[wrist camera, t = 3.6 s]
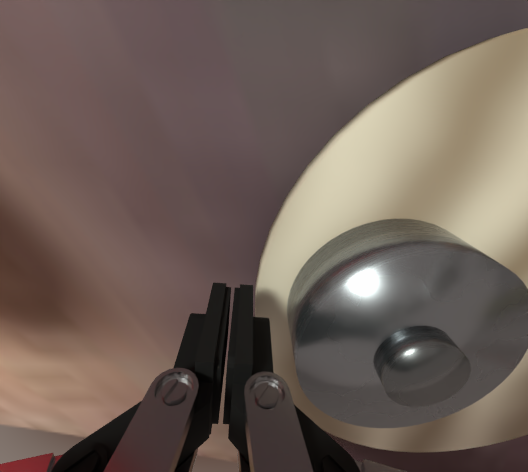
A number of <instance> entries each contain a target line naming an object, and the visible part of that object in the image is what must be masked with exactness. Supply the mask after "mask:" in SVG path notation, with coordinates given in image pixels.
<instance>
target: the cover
mask: <svg viewBox="0 0 528 472" xmlns="http://www.w3.org/2000/svg"><path fill="white" fill-rule="evenodd" d="M287 318H288V325H289V331H290V337H291V343H292V349H293V355H294V361H295V367H296V373H297V377H298V381H299V384H300V386H301V388H302V390H303V392H304V394H305V395H306V396H307V398H308V399H309V400H310V401H311V402H312V403H313V404H314V405H315V406H316V407H317V408H318V409H319V410H321V411H322V412H324V413H325V414H327V415H329V416H331V417H332V418H334V419H337V420H339V421H342V422H345V423H348V424H352V425H356V426H362V427H368V428H399V427H408V426H414V425H419V424H423V423H427V422H431V421H434V420H437V419H440V418H443V417H446V416H449V415H451V414H453V413H456V412H458V411H460V410H462V409H464V408H466V407H468V406H470V405H472V404H473V403H475V402H477V401H478V400H480V399H482V398H483V397H484V396H486V395H487V394H489V393H490V392H491V391H493V390H494V389H495V388H496V387H497V386H498V385H500V384H501V383H502V382H503V381H504V380H505V379H506V378H507V377H508V376H509V375H510V374H511V373H512V372H513V370H514V369H515V368H516V367H517V365H518V364H519V363H520V361H521V360H522V358H523V356H524V355H525V353H526V351H527V349H528V289H527V287H526V285H525V284H524V282H523V281H522V280H521V279H520V278H519V277H518V276H517V275H516V274H515V273H514V272H512V271H511V270H509V269H508V268H506V267H505V266H503V265H502V264H500V263H499V262H497V261H495V260H494V259H492V258H491V257H489V256H487V255H486V254H484V253H483V252H481V251H479V250H478V249H476V248H475V247H473V246H471V245H470V244H468V243H467V242H465V241H463V240H462V239H460V238H458V237H457V236H455V235H454V234H452V233H450V232H449V231H447V230H446V229H443V228H441V227H439V226H437V225H435V224H432V223H428V222H425V221H421V220H414V219H386V220H379V221H375V222H370V223H366V224H363V225H361V226H358V227H355V228H352V229H350V230H348V231H346V232H344V233H342V234H340V235H338V236H337V237H335V238H333V239H332V240H330V241H329V242H327V243H326V244H325V245H323V246H322V247H321V248H320V249H318V250H317V251H316V252H315V253H314V254H313V255H312V256H311V257H310V258H309V259H308V260H307V262H306V263H305V264H304V266H303V267H302V268H301V270H300V271H299V273H298V275H297V276H296V278H295V280H294V282H293V285H292V287H291V289H290V293H289V297H288V303H287Z"/></svg>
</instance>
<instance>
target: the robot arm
mask: <svg viewBox="0 0 528 472" xmlns="http://www.w3.org/2000/svg"><path fill="white" fill-rule="evenodd" d="M230 295H231V287H226V284H225V283H213V286H212V290H211V295H210V299H209V303H208V308H207V312H206V314H195V313H191V314H190V317H189V320H188V323H187V326H186V329H185V333H184V336H183V339H182V342H181V346H180V349H179V352H178V355H177V359H176V362H175V365H174V368H173V369H169V370H167V371H165V372H163V373H161V374H160V375H159V376H157V377H156V378H155V380H154V381H153V382H152V384H151V386H150V387H149V389H148V391H147V393H146V395H145V397H144V398H143V400H142V401H141V402H139V403H138V404H136V405H135V406H133V407H132V408H130V409H129V410H127V411H126V412H124V413H123V414H121V415H120V416H118V417H117V418H115V419H114V420H112V421H111V422H109V423H108V424H106V425H105V426H103V427H102V428H100V429H99V430H97V431H96V432H94V433H93V434H91V435H90V436H88V437H87V438H85V439H84V440H82V441H81V442H79V443H78V444H76V445H75V446H73V447H72V448H71V449H70V450H68V451H67V452H66V453H65V454H63V455H59V456H54V454H53V453H50V454H45V455H40V456H36V457H31V458H26V459H22V460H17V461H13V462H8V463H4V464H0V472H192V469H193V465H194V463H195V459H196V456H197V451H198V447H199V446H200V445H202V444H203V443H204V442H205V441H206V440H207V439H208V438H209V434H211V428H212V424H218V420H219V411H220V402H221V393H222V384H223V375H224V367H225V358H226V349H227V339H228V325H229V310H230ZM223 424H229V434H228V435H229V436H228V439H229V440H230V441H231V442H232V443H233V445H234V446H235V447H236V448H237V449H238V454H237V456H238V468H239V472H407V471H404V470H400V469H397V468H393V467H390V466H387V465H383V464H380V463H376V462H373V461H369V460H366V459H364V460H363V462H360V461H356V460H354V459H353V458H352V457H351V456H350V455H349V454H348V452H347V451H345V450H344V449H343V448H342V447H341V446H340V445H339V444H338V443H337V442H335V441H334V440H333V439H332V438H331V437H330V436H329V435H328V434H326V433H325V432H324V431H323V430H322V429H321V428H320V427H319V426H318V425H316V424H315V423H314V422H313V421H312V420H311V419H310V418H309V417H308V416H306V415H305V414H304V413H303V412H302V411H301V410H300V409H299V408H298V407H296V406H295V405H294V403H293V399H292V396H291V392H290V389H289V387H288V385H287V383H286V382H285V380H284V379H283V378H282V377H280V376H279V375H277V374H275V373H274V371H273V358H272V345H271V332H270V320H269V318H263V317H253V285H240V288H235V293H234V302H233V312H232V322H231V332H230V341H229V351H228V362H227V374H226V389H225V403H224V417H223Z"/></svg>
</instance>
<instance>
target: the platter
mask: <svg viewBox="0 0 528 472" xmlns="http://www.w3.org/2000/svg"><path fill="white" fill-rule="evenodd" d="M386 219H414V220H421V221H425V222H428V223H432V224H435V225H437V226H439V227H441V228H443V229H446V230H447V231H449V232H450V233H452V234H454V235H455V236H457V237H458V238H460V239H462V240H463V241H465V242H467V243H468V244H470V245H471V246H473V247H475V248H476V249H478V250H479V251H481V252H483V253H484V254H486V255H487V256H489V257H491V258H492V259H494V260H495V261H497V262H499V263H500V264H502V265H503V266H505V267H506V268H508V269H509V270H511V271H512V272H514V273H515V274H516V275H517V276H518V277H519V278H520V279H521V280H522V281H523V282H524V284H525V285H526V287H527V289H528V28H526V29H522V30H518V31H514V32H511V33H508V34H504V35H501V36H498V37H494V38H491V39H488V40H485V41H483V42H480V43H478V44H475V45H473V46H470V47H468V48H465V49H463V50H460V51H458V52H456V53H453V54H451V55H448V56H446V57H443V58H442V59H440V60H438V61H436V62H434V63H432V64H431V65H429V66H427V67H425V68H423V69H422V70H420V71H418V72H416V73H414V74H413V75H411V76H409V77H407V78H405V79H404V80H402V81H401V82H399V83H398V84H396V85H395V86H394V87H392V88H391V89H389V90H388V91H387V92H385V93H384V94H382V95H381V96H380V97H378V98H377V99H375V100H374V101H373V102H371V103H370V104H368V105H367V106H366V107H364V108H363V109H362V110H361V111H360V112H359V113H358V114H357V115H356V116H355V117H353V118H352V119H351V120H350V121H349V122H348V123H347V124H346V125H345V126H344V127H343V128H341V129H340V130H339V131H338V132H337V133H336V134H335V135H334V136H333V137H332V138H331V139H330V140H329V141H328V143H327V144H326V145H325V146H324V147H323V148H322V149H321V151H320V152H319V153H318V154H317V155H316V156H315V157H314V159H313V160H312V161H311V162H310V163H309V164H308V166H307V167H306V168H305V170H304V171H303V173H302V174H301V176H300V177H299V179H298V180H297V182H296V183H295V184H294V186H293V187H292V189H291V190H290V192H289V193H288V195H287V196H286V198H285V200H284V202H283V204H282V206H281V208H280V210H279V212H278V214H277V216H276V218H275V220H274V222H273V224H272V226H271V228H270V231H269V234H268V237H267V240H266V243H265V245H264V248H263V251H262V254H261V258H260V263H259V269H258V274H257V279H256V292H255V317H263V318H269V320H270V332H271V345H272V358H273V371H274V373H275V374H277V375H279V376H280V377H282V378H283V379H284V380H285V382H286V383H287V385H288V387H289V389H290V392H291V396H292V399H293V403H294V405H295V406H296V407H298V408H299V409H300V410H301V411H302V412H303V413H304V414H305V415H306V416H308V417H309V418H310V419H311V420H312V421H313V422H314V423H315V424H316V425H318V426H319V427H320V428H321V429H322V430H324V431H326V432H328V433H330V434H332V435H334V436H336V437H339V438H342V439H344V440H347V441H350V442H353V443H356V444H360V445H364V446H368V447H372V448H377V449H384V450H391V451H401V452H444V451H454V450H463V449H469V448H475V447H481V446H487V445H491V444H495V443H499V442H504V441H508V440H512V439H515V438H518V437H521V436H525V435H528V349H527V351H526V353H525V355H524V356H523V358H522V360H521V361H520V363H519V364H518V365H517V367H516V368H515V369H514V370H513V372H512V373H511V374H510V375H509V376H508V377H507V378H506V379H505V380H504V381H503V382H502V383H501V384H500V385H498V386H497V387H496V388H495V389H494V390H493V391H491V392H490V393H489V394H487V395H486V396H484V397H483V398H482V399H480V400H478V401H477V402H475V403H473V404H472V405H470V406H468V407H466V408H464V409H462V410H460V411H458V412H456V413H453V414H451V415H449V416H446V417H443V418H440V419H437V420H434V421H431V422H427V423H423V424H419V425H414V426H408V427H399V428H368V427H362V426H356V425H352V424H348V423H345V422H342V421H339V420H337V419H334V418H332V417H331V416H329V415H327V414H325V413H324V412H322V411H321V410H319V409H318V408H317V407H316V406H315V405H314V404H313V403H312V402H311V401H310V400H309V399H308V398H307V396H306V395H305V394H304V392H303V390H302V388H301V386H300V384H299V381H298V377H297V373H296V367H295V361H294V355H293V349H292V343H291V337H290V331H289V325H288V318H287V303H288V297H289V293H290V289H291V287H292V285H293V282H294V280H295V278H296V276H297V275H298V273H299V271H300V270H301V268H302V267H303V266H304V264H305V263H306V262H307V260H308V259H309V258H310V257H311V256H312V255H313V254H314V253H315V252H316V251H317V250H318V249H320V248H321V247H322V246H323V245H325V244H326V243H327V242H329V241H330V240H332V239H333V238H335V237H337V236H338V235H340V234H342V233H344V232H346V231H348V230H350V229H352V228H355V227H358V226H361V225H363V224H366V223H370V222H375V221H379V220H386Z"/></svg>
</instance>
